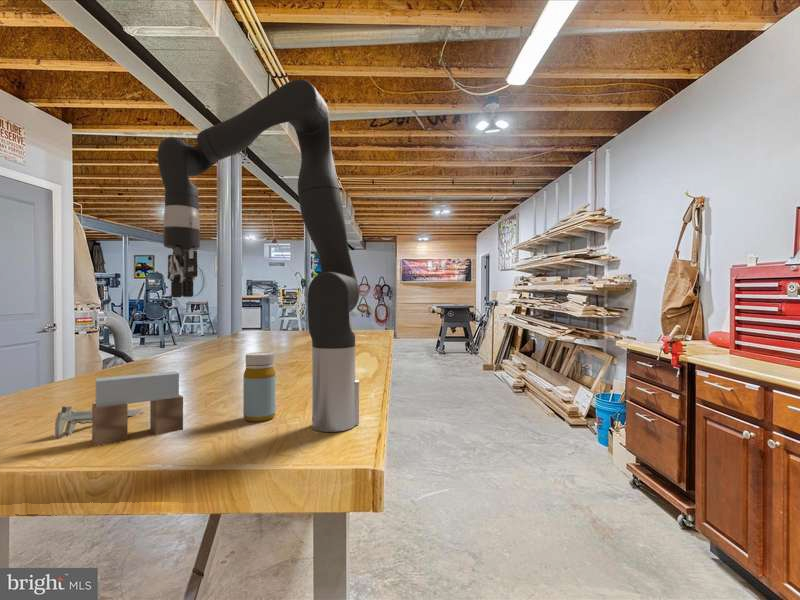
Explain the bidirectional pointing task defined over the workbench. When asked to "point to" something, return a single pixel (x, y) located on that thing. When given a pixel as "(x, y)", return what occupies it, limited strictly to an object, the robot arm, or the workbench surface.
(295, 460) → the workbench surface
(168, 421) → the pillar
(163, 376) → the lintel
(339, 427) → the robot arm
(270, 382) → the bottle
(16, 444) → the workbench surface
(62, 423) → the caliper
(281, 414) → the workbench surface
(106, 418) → the pillar
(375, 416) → the workbench surface
